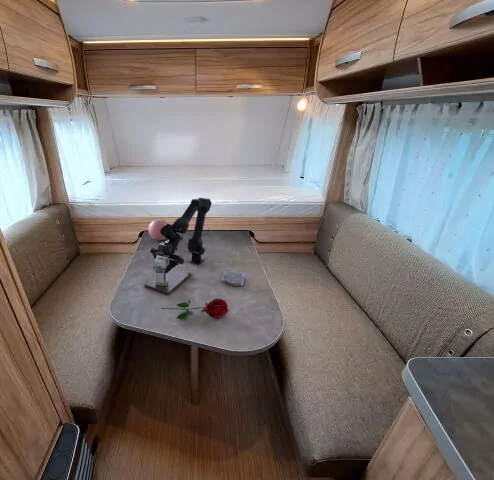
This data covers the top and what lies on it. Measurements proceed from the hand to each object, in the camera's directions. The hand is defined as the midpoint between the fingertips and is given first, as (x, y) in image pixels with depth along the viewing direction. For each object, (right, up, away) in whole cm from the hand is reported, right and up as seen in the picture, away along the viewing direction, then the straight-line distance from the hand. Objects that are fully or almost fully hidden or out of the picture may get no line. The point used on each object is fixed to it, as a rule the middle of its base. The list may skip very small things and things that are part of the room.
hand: (159, 271), depth 134 cm
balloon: (-8, +17, +63) cm, 66 cm away
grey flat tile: (+4, -6, +9) cm, 12 cm away
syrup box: (0, -6, +5) cm, 8 cm away
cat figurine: (-5, +12, +41) cm, 43 cm away
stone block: (+38, -7, +9) cm, 40 cm away
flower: (+18, -18, -17) cm, 31 cm away
